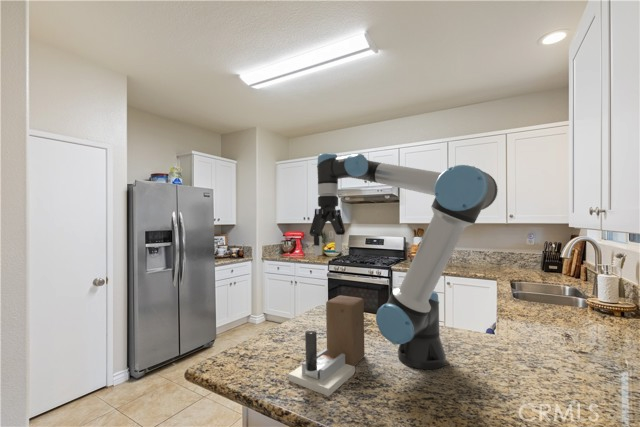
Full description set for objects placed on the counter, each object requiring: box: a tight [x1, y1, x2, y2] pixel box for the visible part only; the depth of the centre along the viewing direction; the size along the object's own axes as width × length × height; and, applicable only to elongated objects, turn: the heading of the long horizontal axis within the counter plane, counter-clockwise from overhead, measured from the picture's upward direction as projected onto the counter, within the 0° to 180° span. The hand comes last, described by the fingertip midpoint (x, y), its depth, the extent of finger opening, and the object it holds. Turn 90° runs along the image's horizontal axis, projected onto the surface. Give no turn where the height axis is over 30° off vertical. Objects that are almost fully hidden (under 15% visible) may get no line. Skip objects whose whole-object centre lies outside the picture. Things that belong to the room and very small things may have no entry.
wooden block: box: [325, 295, 366, 367], centre depth 100 cm, size 10×10×20 cm
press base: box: [288, 348, 356, 397], centre depth 88 cm, size 14×14×5 cm
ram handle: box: [304, 330, 335, 379], centre depth 87 cm, size 4×11×12 cm, turn 145°
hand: (328, 253), depth 109 cm, fingers open, 13 cm apart
